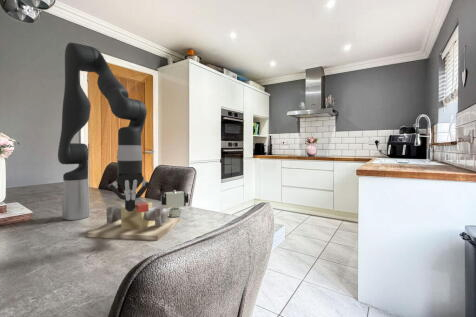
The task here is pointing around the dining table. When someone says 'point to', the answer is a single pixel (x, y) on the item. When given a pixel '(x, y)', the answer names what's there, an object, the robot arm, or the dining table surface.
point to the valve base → (134, 233)
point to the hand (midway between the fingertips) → (130, 210)
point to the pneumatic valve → (174, 201)
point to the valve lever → (141, 205)
